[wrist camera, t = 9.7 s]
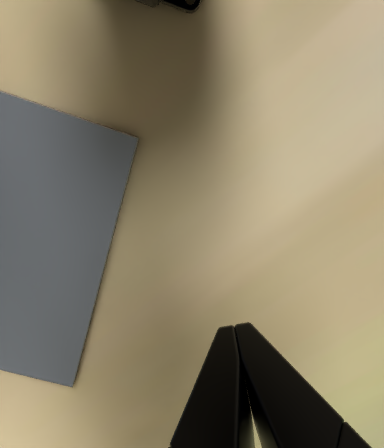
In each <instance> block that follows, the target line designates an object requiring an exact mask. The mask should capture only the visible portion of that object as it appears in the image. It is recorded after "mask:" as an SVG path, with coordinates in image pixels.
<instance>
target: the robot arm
mask: <svg viewBox="0 0 384 448" xmlns="http://www.w3.org/2000/svg"><path fill="white" fill-rule="evenodd" d="M136 1H138V2H141V3H143V4H146V5H148V6H151V7H155V6H156V5H158V4H159V2H162V3H164V4H167V5H169V6H172V7H175V8H177V9H180V10H182V11H185V12H187V13H193V12H195V11H196V10H197V9H198V7H199V5H200V2H201V0H195V2H194V3H193V4H192V5H189V4H187V3H186V1H185V0H136ZM235 331H236V332H235ZM236 336H237V337H236ZM246 387H247V388H246ZM247 392H248V393H247ZM248 397H249V398H248ZM249 402H250V403H249ZM250 407H251V408H250ZM251 411H252V414H251ZM252 416H253V419H254V423H255V426H256V430H257V433H258V436H259V439H260V443H261V446H262V448H372V447H371V446H370V445H369V444H368V443H367V442H366V441H364V440H363V439H362V437H361V436H360V435H359V434H358V433H357V432H356V431H355V430H354V429H353V428H352V427H351V426H350V425H349V424H348V423H347V422H344V420H343V418H342V417H341V416H340V415H339V414H338V413H337V412H336V411H335V410H334V409H333V408H332V407H331V406H330V405H329V404H328V403H327V401H326V400H325V399H324V398H323V397H322V396H321V395H320V394H319V393H318V392H317V391H316V390H315V389H314V388H313V387H312V386H311V385H310V384H309V383H308V382H307V381H306V380H305V379H304V378H303V377H302V376H301V375H300V374H299V373H298V371H297V370H296V369H295V368H294V367H293V366H292V365H291V364H290V363H289V362H288V361H287V360H286V359H285V358H284V357H283V356H282V355H281V354H280V353H279V352H278V351H277V350H276V349H275V348H274V347H273V346H272V345H271V344H270V343H269V341H268V340H267V339H266V338H265V337H264V336H263V335H262V334H261V333H260V332H259V331H258V330H257V329H256V328H255V327H254V326H253V325H252V324H251V323H249V322H247V323H241V324H236V325H235V327H234V326H233V325H230V326H224V327H220V328H218V330H217V333H216V335H215V337H214V340H213V342H212V344H211V347H210V349H209V352H208V354H207V356H206V359H205V361H204V363H203V366H202V368H201V371H200V373H199V375H198V378H197V380H196V383H195V385H194V387H193V390H192V392H191V394H190V397H189V399H188V402H187V404H186V406H185V409H184V411H183V413H182V416H181V418H180V421H179V423H178V425H177V428H176V430H175V432H174V435H173V437H172V440H171V442H170V447H168V448H255V444H254V432H253V422H252Z"/></svg>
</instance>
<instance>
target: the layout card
mask: <svg viewBox="0 0 384 448" xmlns="http://www.w3.org/2000/svg"><path fill="white" fill-rule="evenodd" d="M138 140H139V138H138V137H135V136H132V135H129V134H126V133H123V132H121V131H118V130H115V129H112V128H109V127H106V126H103V125H100V124H97V123H94V122H91V121H88V120H85V119H82V118H79V117H77V116H74V115H71V114H68V113H65V112H62V111H59V110H56V109H53V108H50V107H47V106H44V105H41V104H38V103H36V102H33V101H30V100H27V99H24V98H21V97H18V96H15V95H12V94H9V93H6V92H3V91H0V370H3V371H7V372H11V373H16V374H20V375H24V376H28V377H32V378H36V379H40V380H44V381H49V382H53V383H57V384H61V385H65V386H69V387H72V386H73V384H74V382H75V378H76V374H77V371H78V367H79V363H80V359H81V355H82V352H83V348H84V344H85V340H86V337H87V333H88V329H89V325H90V321H91V318H92V314H93V310H94V306H95V302H96V299H97V295H98V291H99V287H100V284H101V280H102V276H103V272H104V268H105V265H106V261H107V257H108V253H109V250H110V246H111V242H112V238H113V234H114V231H115V227H116V223H117V219H118V215H119V212H120V208H121V204H122V200H123V197H124V193H125V189H126V185H127V181H128V178H129V174H130V170H131V166H132V163H133V159H134V155H135V151H136V147H137V144H138Z"/></svg>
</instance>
